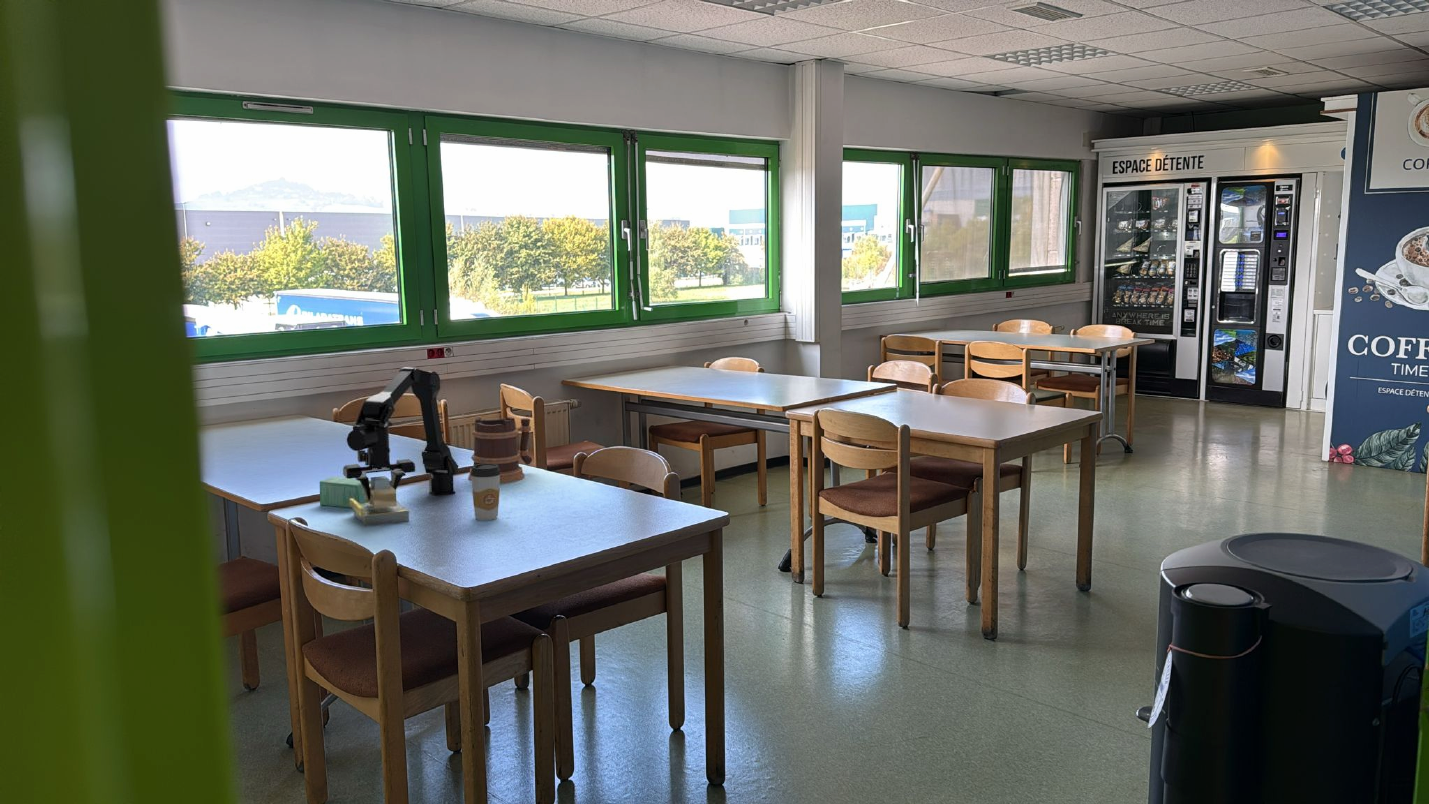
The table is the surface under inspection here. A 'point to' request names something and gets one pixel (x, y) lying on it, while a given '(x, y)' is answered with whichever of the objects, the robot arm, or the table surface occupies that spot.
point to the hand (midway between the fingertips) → (380, 498)
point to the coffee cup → (485, 490)
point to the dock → (379, 513)
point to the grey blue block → (380, 482)
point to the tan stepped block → (382, 497)
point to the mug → (501, 446)
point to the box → (341, 492)
